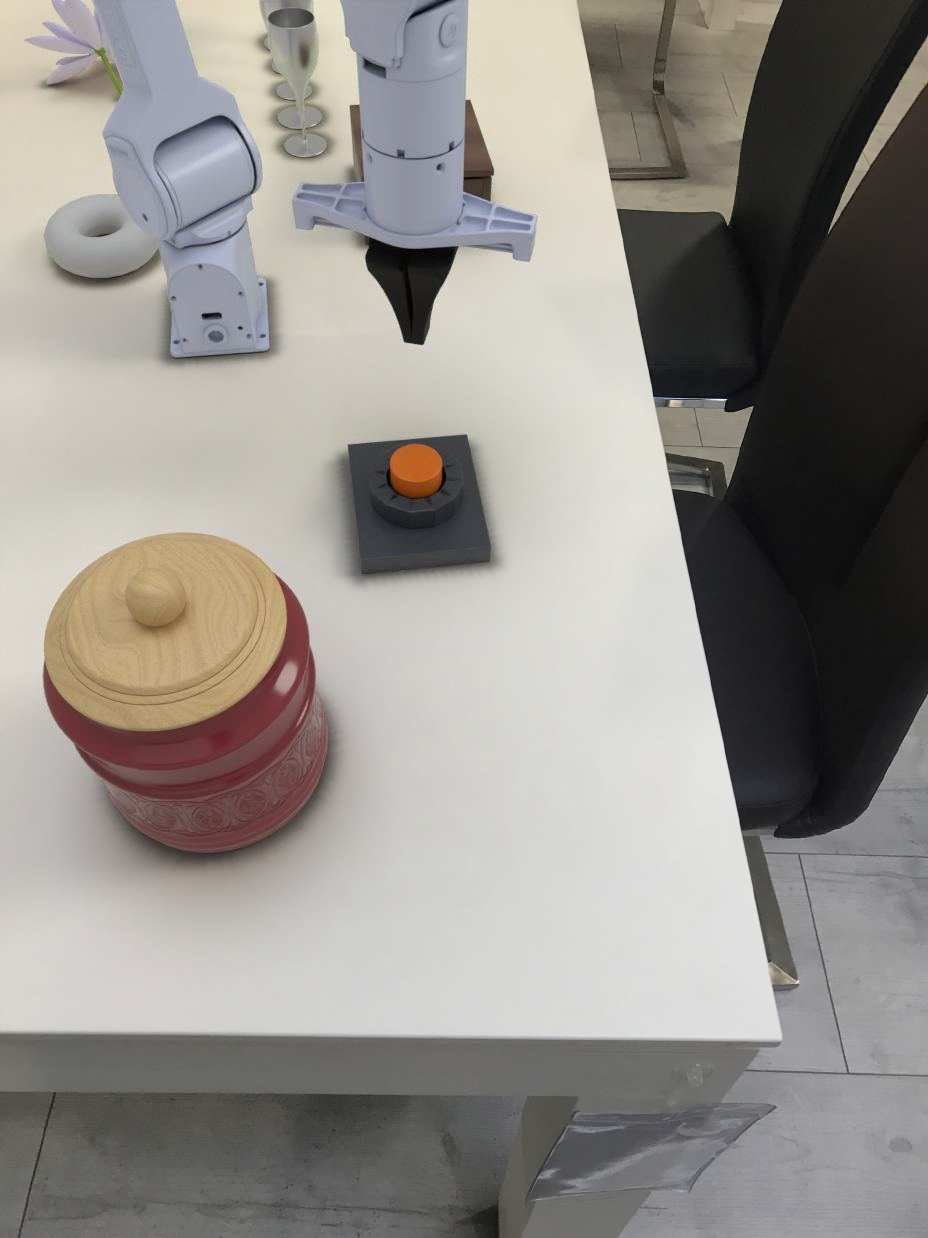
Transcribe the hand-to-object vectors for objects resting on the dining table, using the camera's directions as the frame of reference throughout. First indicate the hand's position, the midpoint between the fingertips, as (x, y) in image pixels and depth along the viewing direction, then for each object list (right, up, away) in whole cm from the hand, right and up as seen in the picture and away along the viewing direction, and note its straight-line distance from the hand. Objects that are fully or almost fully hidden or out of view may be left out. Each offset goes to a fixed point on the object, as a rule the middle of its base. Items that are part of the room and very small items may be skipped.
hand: (416, 334), depth 62 cm
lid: (-1, +24, +22) cm, 33 cm away
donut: (-29, +14, +21) cm, 39 cm away
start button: (0, -9, +3) cm, 10 cm away
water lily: (-36, +40, +39) cm, 66 cm away
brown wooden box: (-1, +21, +27) cm, 35 cm away
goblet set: (-15, +39, +39) cm, 57 cm away
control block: (0, -11, +5) cm, 12 cm away
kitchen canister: (-11, -27, -6) cm, 30 cm away
